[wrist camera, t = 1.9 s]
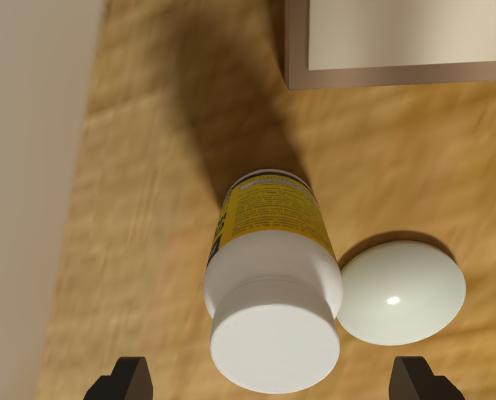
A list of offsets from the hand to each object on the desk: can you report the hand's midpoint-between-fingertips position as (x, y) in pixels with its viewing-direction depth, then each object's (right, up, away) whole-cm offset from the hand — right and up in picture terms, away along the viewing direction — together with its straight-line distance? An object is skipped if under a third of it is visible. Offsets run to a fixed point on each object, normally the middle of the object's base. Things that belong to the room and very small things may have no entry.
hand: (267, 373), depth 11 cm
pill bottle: (+1, +5, +11) cm, 12 cm away
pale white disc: (+10, -1, +13) cm, 17 cm away
